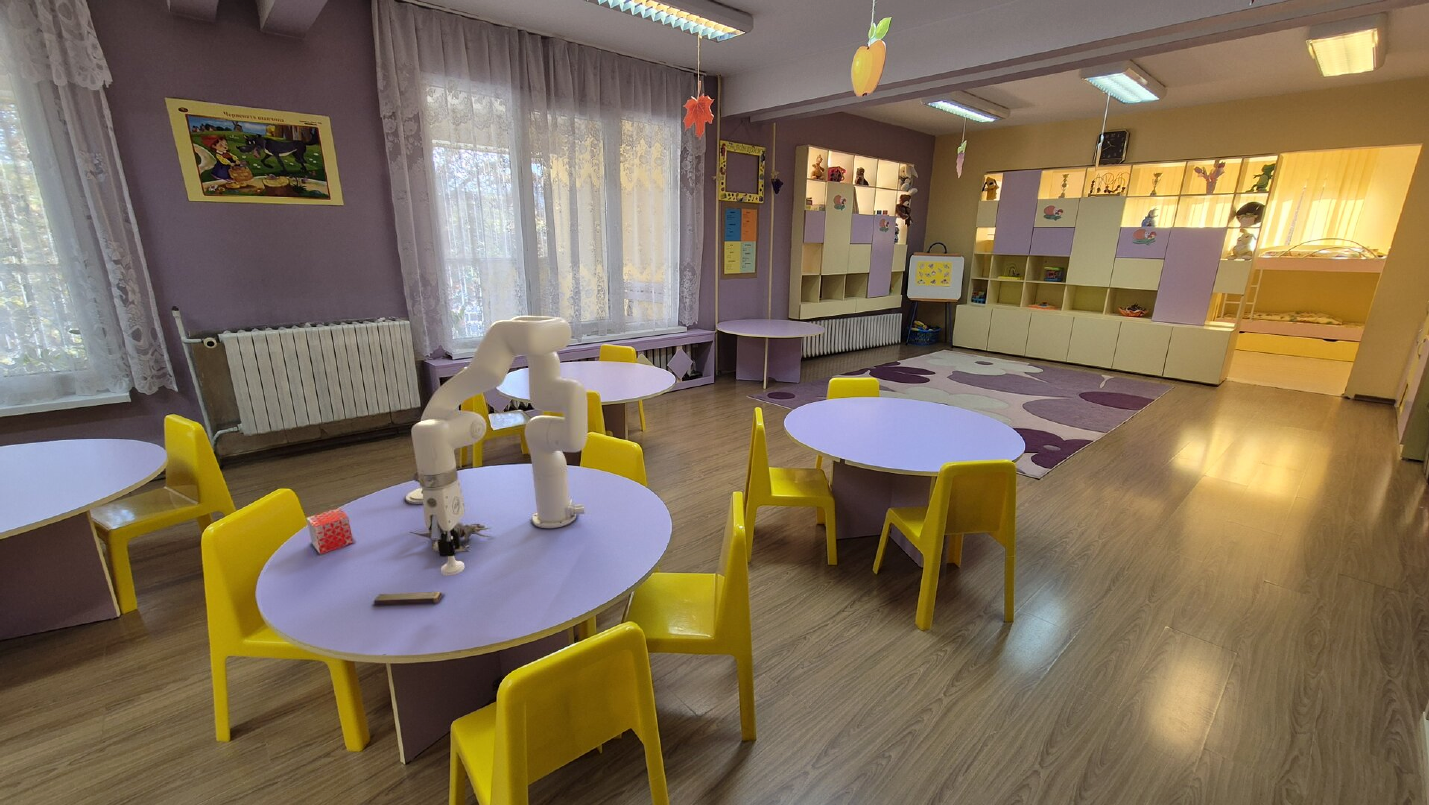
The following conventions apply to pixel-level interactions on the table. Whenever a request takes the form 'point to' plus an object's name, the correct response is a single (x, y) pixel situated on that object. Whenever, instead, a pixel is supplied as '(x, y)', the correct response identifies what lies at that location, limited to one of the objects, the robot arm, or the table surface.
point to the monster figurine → (415, 494)
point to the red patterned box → (330, 530)
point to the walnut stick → (408, 598)
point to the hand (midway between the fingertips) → (450, 551)
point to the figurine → (462, 532)
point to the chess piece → (452, 565)
